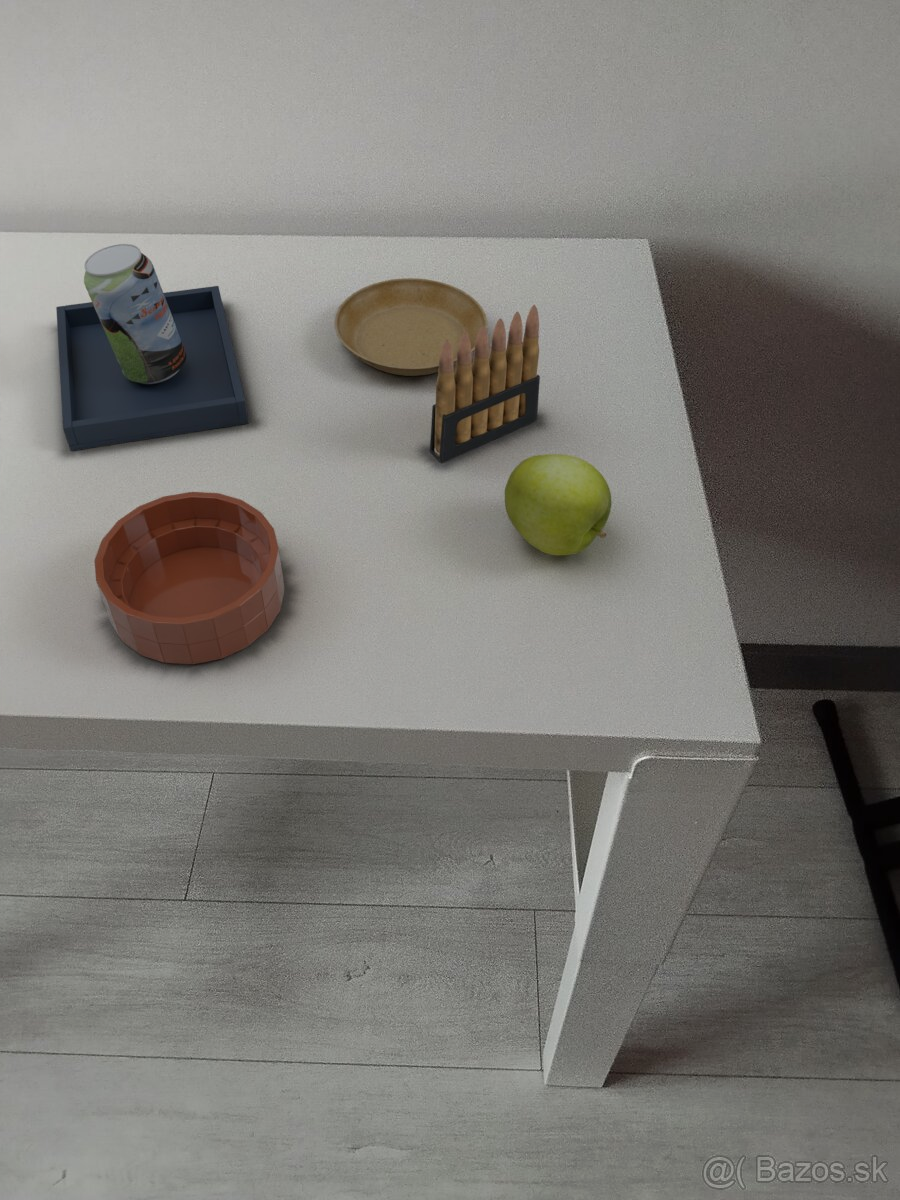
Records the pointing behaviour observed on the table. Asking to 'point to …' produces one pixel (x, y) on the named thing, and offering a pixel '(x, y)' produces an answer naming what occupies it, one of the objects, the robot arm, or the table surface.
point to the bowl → (190, 577)
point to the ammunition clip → (486, 388)
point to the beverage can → (134, 313)
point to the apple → (558, 503)
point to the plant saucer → (407, 324)
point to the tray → (143, 411)
